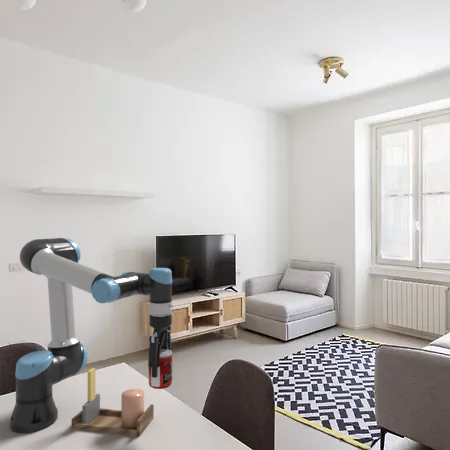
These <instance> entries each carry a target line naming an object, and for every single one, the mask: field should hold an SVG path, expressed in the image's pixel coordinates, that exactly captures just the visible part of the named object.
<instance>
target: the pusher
mask: <svg viewBox="0 0 450 450" xmlns="http://www.w3.org/2000/svg"><path fill="white" fill-rule="evenodd" d="M100 408H101V393H96V368H95V367H94V368H93V367H92V368H90V369H89V370H88V371H87V401H86V402H85V403H84V404H83V405H82V410H81V411H82V423H84V424H89V423H90V422H91V421H92V420H93V419H94V418H95V417H96V416H97V415H98V414H100Z"/></svg>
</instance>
